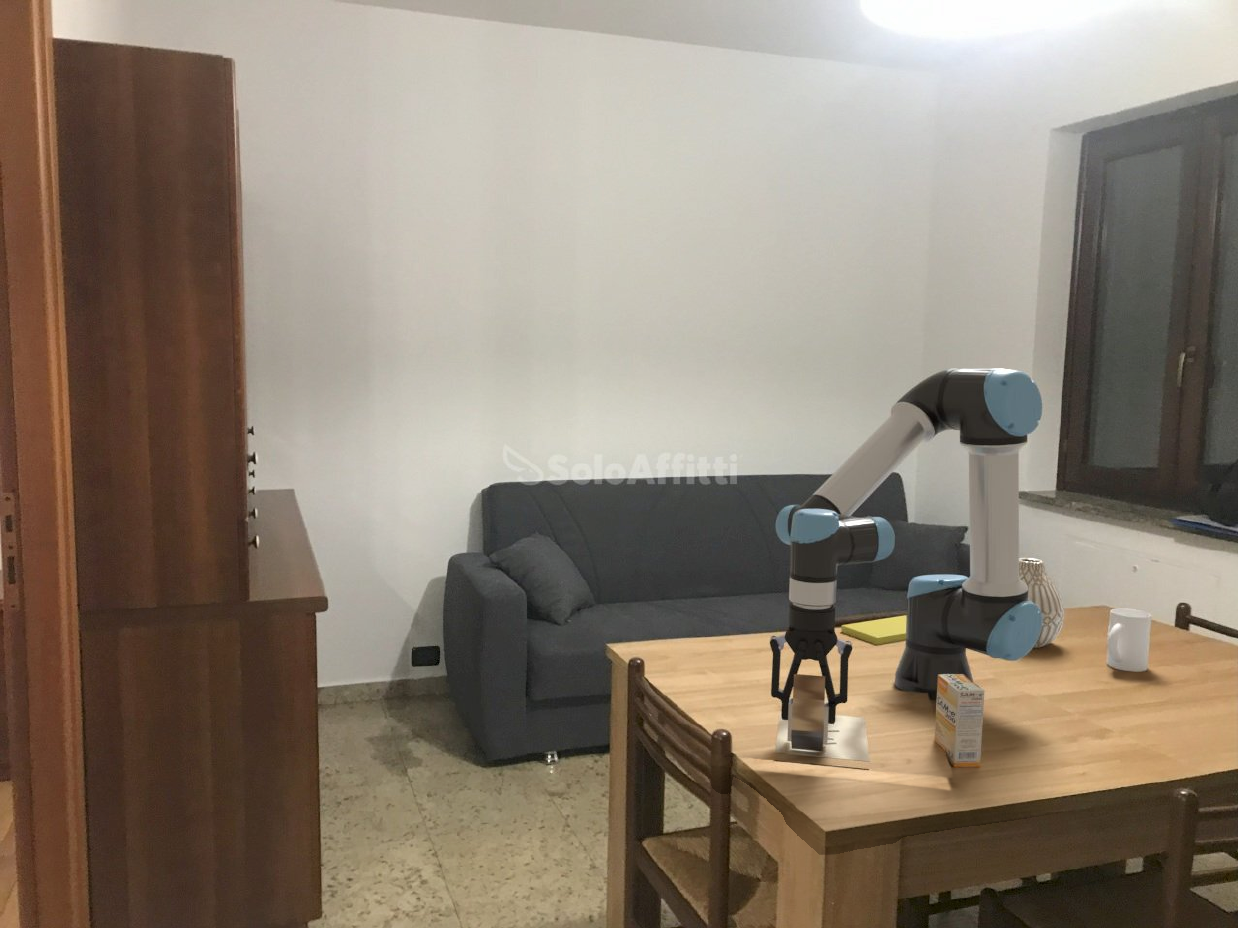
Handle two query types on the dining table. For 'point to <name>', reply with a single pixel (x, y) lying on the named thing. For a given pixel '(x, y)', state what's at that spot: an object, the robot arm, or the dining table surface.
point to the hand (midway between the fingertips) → (807, 739)
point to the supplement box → (959, 719)
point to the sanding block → (808, 712)
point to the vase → (1043, 598)
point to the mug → (1128, 639)
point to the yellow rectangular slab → (878, 630)
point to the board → (832, 741)
